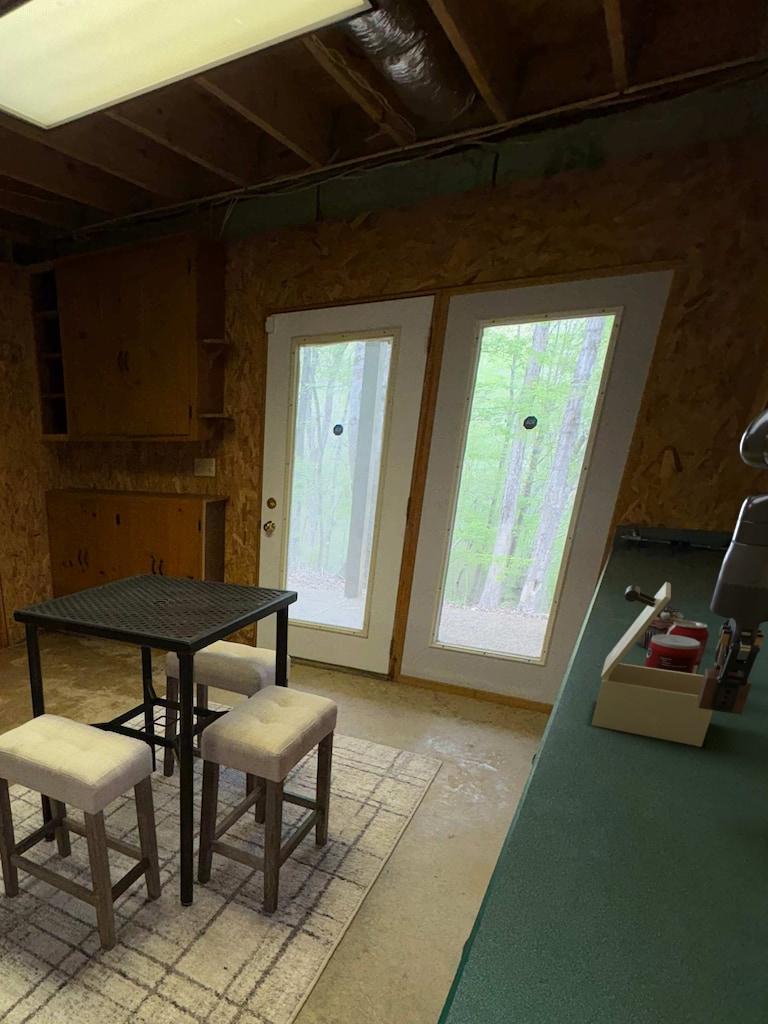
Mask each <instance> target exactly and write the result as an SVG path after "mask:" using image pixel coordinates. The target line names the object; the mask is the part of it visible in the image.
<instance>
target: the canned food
mask: <svg viewBox="0 0 768 1024" xmlns="http://www.w3.org/2000/svg"><path fill="white" fill-rule="evenodd" d="M699 648H700V642H699V641H697V640H694V639H692V638H688V637H684V636H678V635H668V634H660V635H654V636H652V639H651V641H650V645H649V648H648V649H647V652H646V657H645V660H644V664H643V667H650V668H656V669H663V670H670V671H677V672H684V673H691V674H692V672H693V668H694V665H695V662H696V659H697V655H698V652H699Z"/></svg>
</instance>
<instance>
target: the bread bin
mask: <svg viewBox="0 0 768 1024" xmlns="http://www.w3.org/2000/svg"><path fill="white" fill-rule="evenodd" d="M703 677H704V674H698V673H697V674H691V673H684V672H677V671H670V670H663V669H656V668H650V667H644V665H643V666H642V665H634V664H628V663H621V662H619V663H618V665H617V666H616V667H615V668H614V669H613V671H612V672H611V673H610V674H609V676H608V677H607V678H606V679H605V680H604V679H602V680H601V684H600V688H599V693H598V696H597V701H596V704H595V709H594V713H593V716H592V722H591V726H593V727H599V728H603V729H609V730H614V731H619V732H625V733H629V734H635V735H640V736H643V737H644V736H645V737H650V738H655V739H659V740H666V741H669V742H676V743H680V744H686V745H691V746H696V747H699V748H702V747H703V744H704V740H705V738H706V734H707V731H708V728H709V725H710V721H711V718H712V715H713V712H714V710H708V709H702V708H698V694H699V690H700V687H701V683H702V680H703Z"/></svg>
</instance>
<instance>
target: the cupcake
mask: <svg viewBox="0 0 768 1024" xmlns="http://www.w3.org/2000/svg"><path fill="white" fill-rule="evenodd" d="M679 610H680V609H677V608H673V607H671V606H670V605H669V606H666V607H664V608H663V609H662V610H661V611H660V612H659V614H658V615H657V616H656V617H655V619H654V620H653V621H652V622H651V624H650V625H649V626H648V627H647V628H646V630H645V631H644V632H643V633H642V635H641V636H640V646H641V648H643V649H646V650H648V648H649V645H650V641H651V639H652V636H654V635H660V634H667V631H668V629H669V628H670V627H671V626H672V625H674V621H677V620H686V618H685V616H684V615H683V614H682V613H681V612H680V611H679Z"/></svg>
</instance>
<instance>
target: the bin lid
mask: <svg viewBox="0 0 768 1024" xmlns="http://www.w3.org/2000/svg"><path fill="white" fill-rule="evenodd" d="M671 593H672V584H671V583H670V582H668V581H665V583H663V585H662V586H661V588H659V590H658V592H656V594H655V595H654V596H651V595H649V594H647V593H645V592H642V591H641V587H640V586H639V585H637V584H631V585H629V586H628V587H627V588H626V590H625V594H624V599H625V600H626V601H627V602H629V603H633V602H636V601H637V602H638V603H639V602H640V603H642V604H644V605H646V607H645V608H644V609H643V610H642V612H641V613H640V614H639V616H638V617H637V618H636V619H635V621H634V622H633V623H632V625H630V627H629V628H628V630H627V631H626V632H625V633H624V635H623V636H622V637H621V638H620V639H619V641H618V642H617V643H616V645H615V646H614V647H613V648H612V650H611V651H610V652H609V654H608V655H607V656H606V657H605V661H604V664H603V668H602V672H601V675H600V678H601V679H602V680H603V679H604V680H605V679H606V678H607V677H608V676H609V674H610V673H611V672H612V671H613V669H614V668H615V667H616V666H617V665H618V663H621V661H622V660H623V658H624V657H625V656H626V655H627V653H628V652H629V651H630V650H631V649H632V648H633V646H634V645H635V644H636V642H637V641H638V640H639V639H640V638H641V635H642V633H643V632H644V631H645V630H646V628H647V627H648V626H649V625H650V624H651V622H652V621H653V620H654V619H655V617H656V616H657V615H658V614H659V612H660V611H661V610H662V609H664V608H665V606H666V605H667V604H668V602H669V601H670V600H671V595H672V594H671Z"/></svg>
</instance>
